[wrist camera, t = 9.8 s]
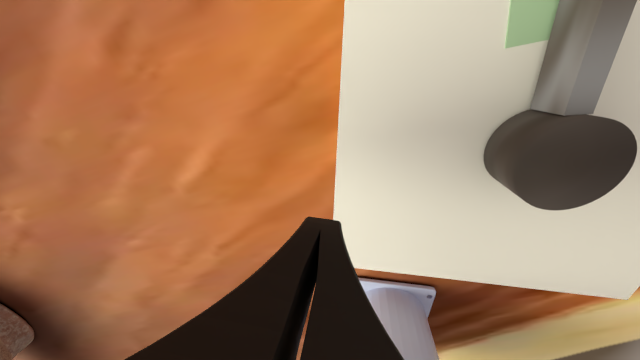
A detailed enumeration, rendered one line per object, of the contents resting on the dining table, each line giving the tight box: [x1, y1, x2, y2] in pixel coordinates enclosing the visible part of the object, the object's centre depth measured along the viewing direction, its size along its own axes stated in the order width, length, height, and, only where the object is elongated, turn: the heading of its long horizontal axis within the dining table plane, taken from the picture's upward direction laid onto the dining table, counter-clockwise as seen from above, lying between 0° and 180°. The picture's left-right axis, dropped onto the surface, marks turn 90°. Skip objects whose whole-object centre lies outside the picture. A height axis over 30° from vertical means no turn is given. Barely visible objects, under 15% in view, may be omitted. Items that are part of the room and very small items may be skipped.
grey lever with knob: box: [484, 0, 637, 211], centre depth 11 cm, size 14×5×3 cm, turn 6°
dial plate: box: [333, 0, 640, 300], centre depth 15 cm, size 24×24×1 cm
